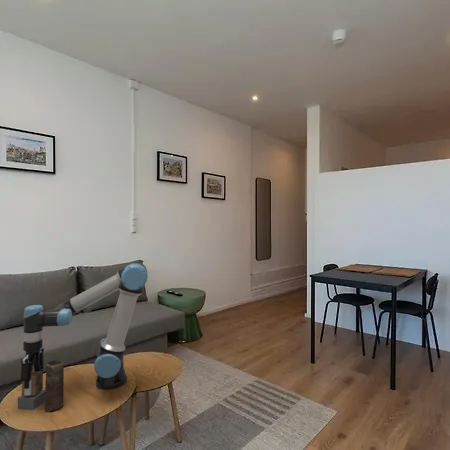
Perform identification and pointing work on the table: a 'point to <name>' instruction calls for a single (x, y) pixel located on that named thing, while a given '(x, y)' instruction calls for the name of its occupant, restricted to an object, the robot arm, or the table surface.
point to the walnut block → (35, 382)
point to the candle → (54, 385)
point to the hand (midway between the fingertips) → (32, 391)
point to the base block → (31, 400)
